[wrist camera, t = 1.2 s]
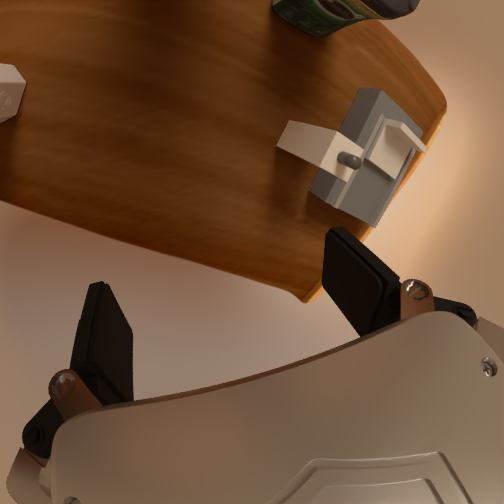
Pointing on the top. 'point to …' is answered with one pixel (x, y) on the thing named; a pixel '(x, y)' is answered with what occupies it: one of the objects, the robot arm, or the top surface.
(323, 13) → the coffee jar
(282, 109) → the top surface
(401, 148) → the shutter
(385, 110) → the socket block
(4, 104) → the jar
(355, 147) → the plug
